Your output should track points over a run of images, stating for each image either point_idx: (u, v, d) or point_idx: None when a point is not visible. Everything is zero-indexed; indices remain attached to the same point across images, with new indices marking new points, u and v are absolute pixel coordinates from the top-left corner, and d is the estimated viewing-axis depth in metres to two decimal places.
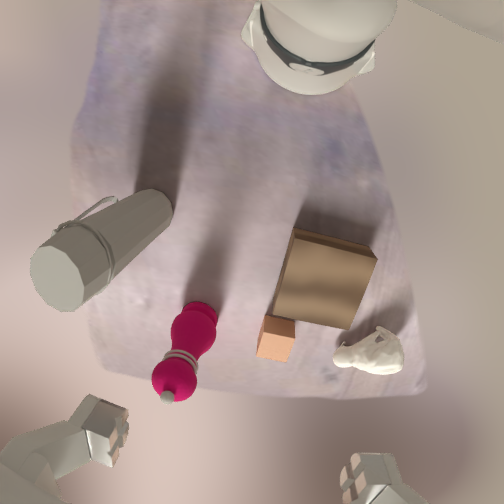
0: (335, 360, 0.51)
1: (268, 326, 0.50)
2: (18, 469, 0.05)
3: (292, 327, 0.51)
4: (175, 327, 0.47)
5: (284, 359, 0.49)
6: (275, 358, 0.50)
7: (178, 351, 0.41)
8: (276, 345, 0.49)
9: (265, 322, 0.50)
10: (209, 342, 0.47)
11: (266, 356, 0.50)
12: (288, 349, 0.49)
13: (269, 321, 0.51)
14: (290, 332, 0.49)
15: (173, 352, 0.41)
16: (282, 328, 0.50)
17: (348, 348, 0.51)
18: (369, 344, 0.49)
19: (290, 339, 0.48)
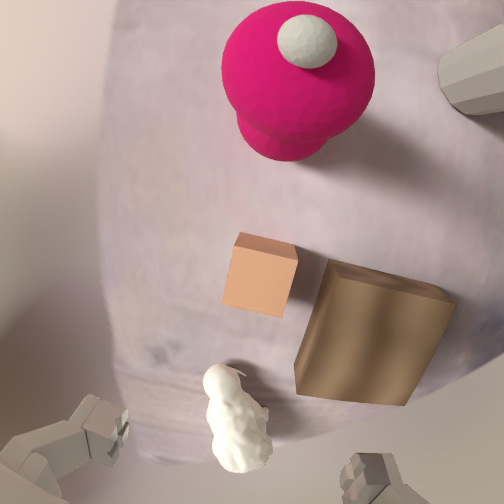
0: (220, 375, 0.29)
1: None
2: (18, 469, 0.05)
3: None
4: None
5: (229, 300, 0.26)
6: (230, 284, 0.25)
7: None
8: (263, 285, 0.25)
9: None
10: (287, 152, 0.21)
11: (235, 266, 0.25)
12: (255, 306, 0.26)
13: None
14: None
15: None
16: None
17: (240, 387, 0.31)
18: (256, 417, 0.30)
19: (279, 310, 0.26)
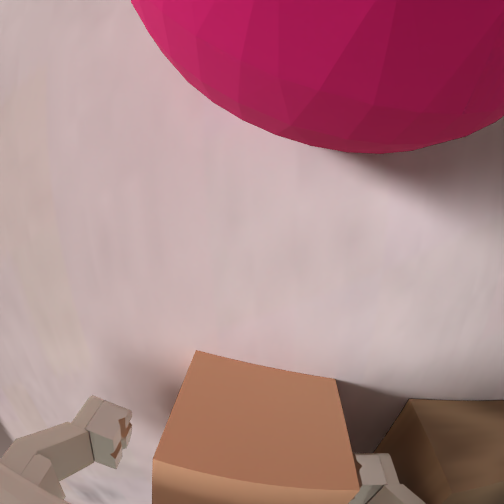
0: None
1: None
2: (22, 471, 0.05)
3: None
4: None
5: None
6: None
7: None
8: None
9: None
10: (431, 77, 0.02)
11: (168, 494, 0.06)
12: None
13: None
14: None
15: None
16: None
17: None
18: None
19: None
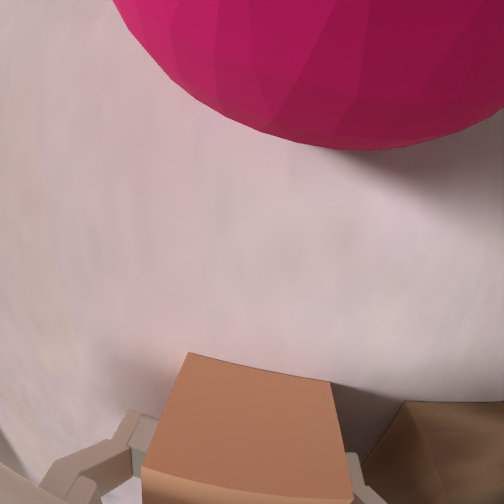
0: None
1: None
2: (65, 496, 0.05)
3: None
4: None
5: None
6: None
7: None
8: None
9: None
10: (419, 64, 0.02)
11: (159, 501, 0.06)
12: None
13: None
14: None
15: None
16: None
17: None
18: None
19: None
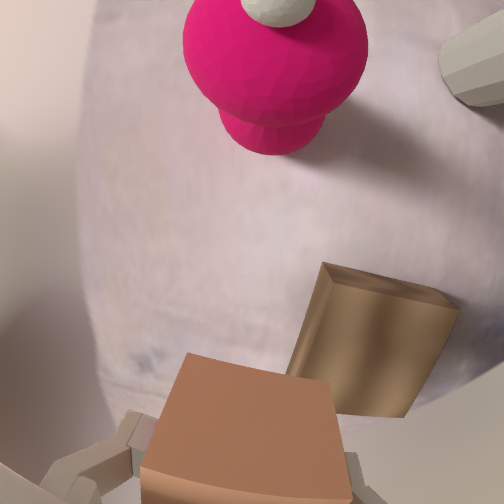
0: None
1: None
2: (65, 496, 0.05)
3: None
4: None
5: None
6: None
7: None
8: None
9: None
10: (273, 144, 0.18)
11: (157, 501, 0.06)
12: None
13: None
14: None
15: None
16: None
17: None
18: None
19: None
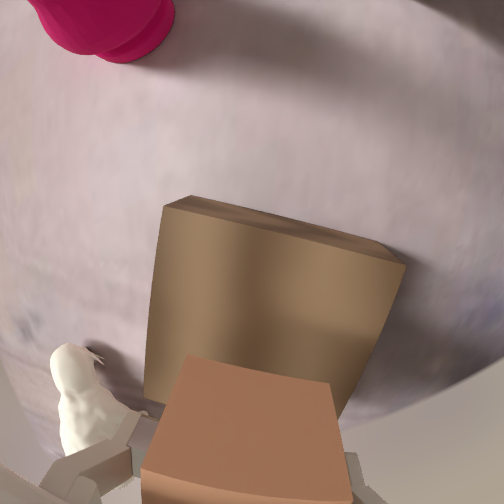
0: (60, 357, 0.20)
1: None
2: (65, 496, 0.05)
3: None
4: None
5: None
6: None
7: None
8: None
9: None
10: (73, 29, 0.11)
11: (158, 502, 0.06)
12: None
13: None
14: None
15: None
16: None
17: (92, 378, 0.21)
18: (114, 421, 0.20)
19: None
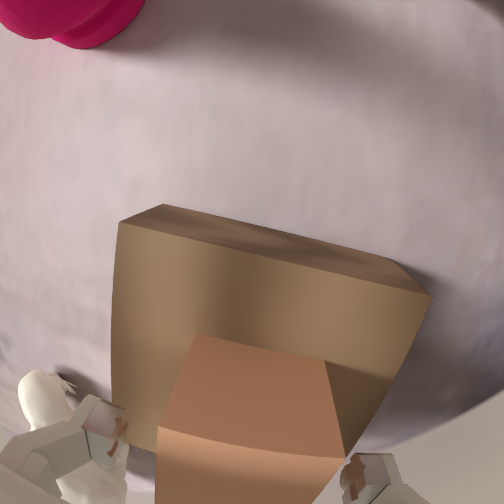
0: (27, 387, 0.16)
1: None
2: (18, 469, 0.05)
3: None
4: None
5: None
6: (167, 486, 0.08)
7: None
8: (248, 495, 0.08)
9: None
10: (18, 8, 0.07)
11: (171, 463, 0.07)
12: None
13: None
14: None
15: None
16: None
17: (63, 409, 0.17)
18: None
19: None
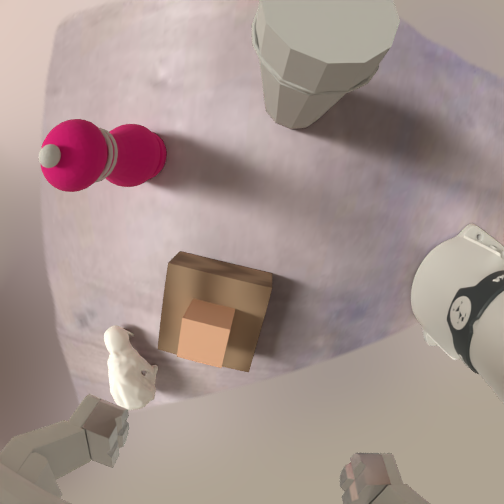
0: (112, 332, 0.41)
1: None
2: (18, 469, 0.05)
3: None
4: (138, 133, 0.30)
5: (182, 354, 0.33)
6: (182, 343, 0.33)
7: (115, 153, 0.25)
8: (206, 345, 0.33)
9: (232, 319, 0.35)
10: (121, 183, 0.32)
11: (184, 332, 0.32)
12: (201, 359, 0.33)
13: None
14: None
15: (113, 145, 0.25)
16: None
17: (128, 343, 0.42)
18: (140, 367, 0.42)
19: (218, 362, 0.33)
